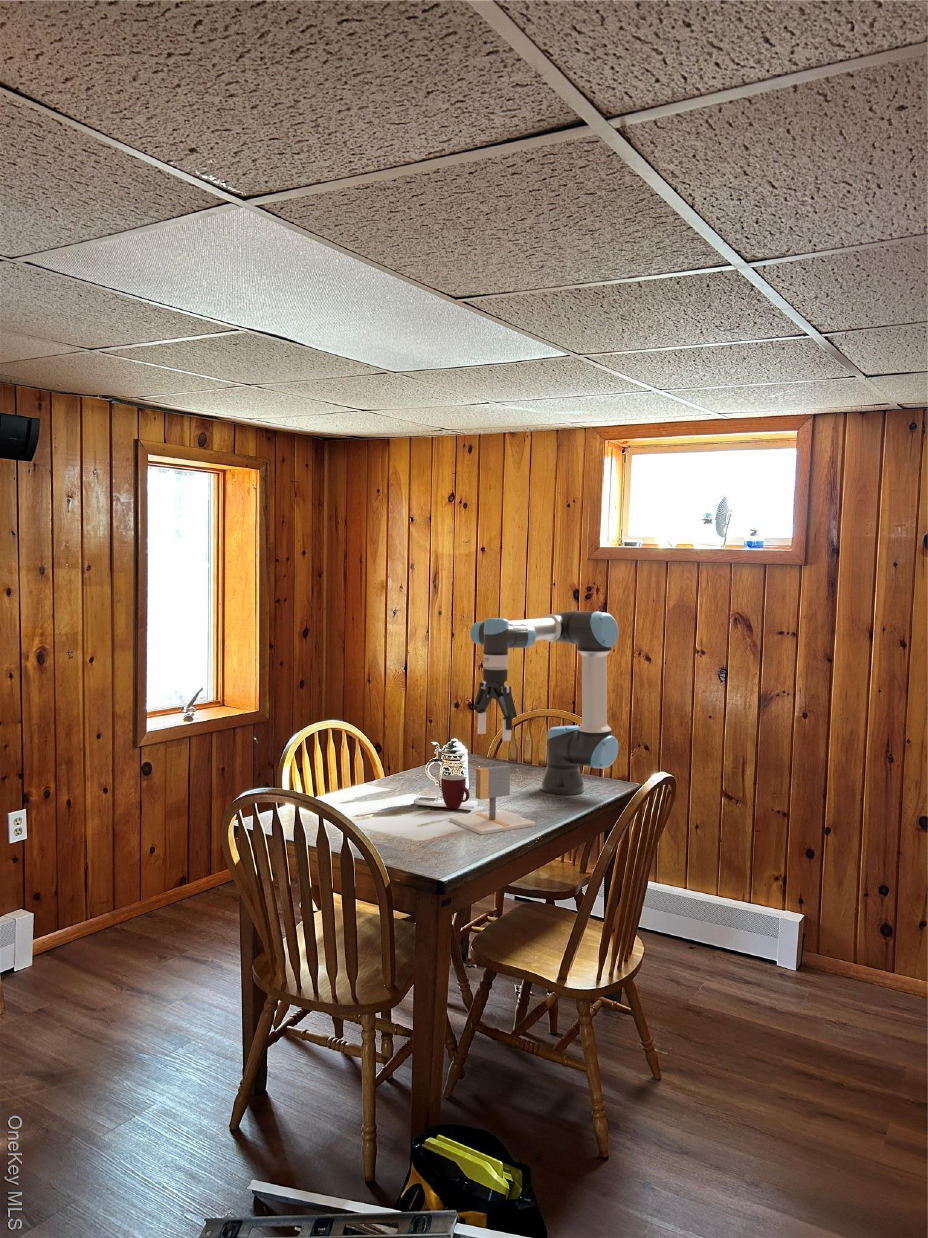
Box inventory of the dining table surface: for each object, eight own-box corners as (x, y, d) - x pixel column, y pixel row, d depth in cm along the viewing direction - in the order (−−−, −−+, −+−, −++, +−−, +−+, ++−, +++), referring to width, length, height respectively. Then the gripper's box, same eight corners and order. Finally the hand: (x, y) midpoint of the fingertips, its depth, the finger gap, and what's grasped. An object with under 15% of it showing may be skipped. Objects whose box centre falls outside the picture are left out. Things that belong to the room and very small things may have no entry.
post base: (502, 812, 295) (502, 788, 295) (535, 825, 280) (536, 799, 280) (449, 820, 284) (449, 795, 284) (481, 834, 269) (481, 807, 269)
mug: (476, 808, 300) (476, 778, 300) (463, 813, 294) (463, 782, 293) (449, 803, 306) (449, 774, 306) (436, 808, 299) (436, 778, 299)
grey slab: (504, 793, 286) (505, 765, 285) (509, 795, 284) (510, 766, 283) (475, 798, 280) (475, 768, 279) (480, 799, 278) (480, 770, 277)
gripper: (463, 665, 289) (461, 731, 289) (509, 672, 268) (507, 744, 268) (482, 664, 293) (481, 730, 293) (529, 671, 272) (527, 742, 272)
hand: (493, 737), depth 281 cm, fingers open, 13 cm apart
